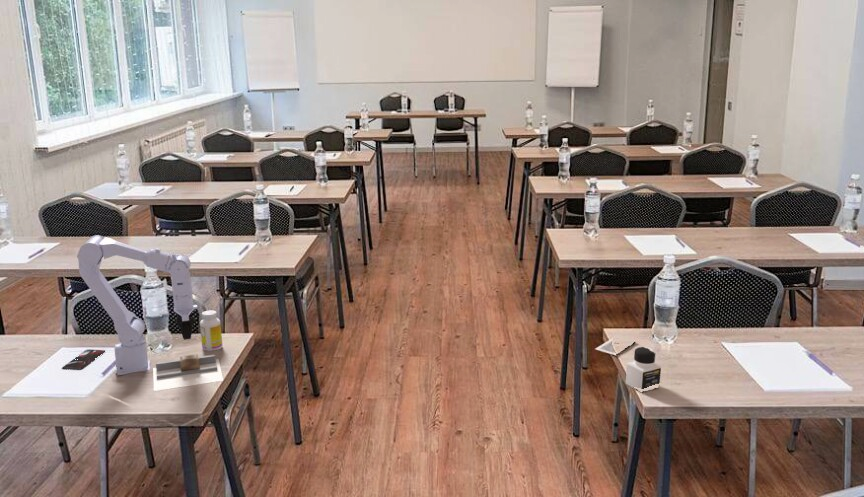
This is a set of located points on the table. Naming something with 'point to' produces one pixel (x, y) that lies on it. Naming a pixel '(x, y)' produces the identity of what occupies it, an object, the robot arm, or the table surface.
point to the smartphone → (83, 359)
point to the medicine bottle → (643, 369)
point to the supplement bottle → (210, 331)
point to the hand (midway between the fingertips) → (186, 334)
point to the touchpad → (607, 347)
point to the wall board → (186, 373)
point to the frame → (189, 362)
